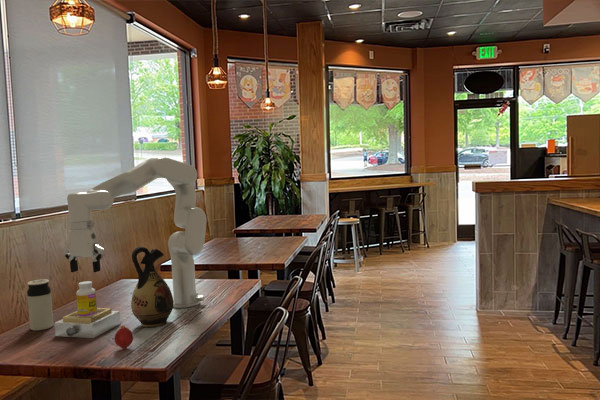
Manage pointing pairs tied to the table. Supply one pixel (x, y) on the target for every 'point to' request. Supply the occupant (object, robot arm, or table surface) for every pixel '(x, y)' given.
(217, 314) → the table surface
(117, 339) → the onion
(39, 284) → the travel mug
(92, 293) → the supplement bottle
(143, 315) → the ceramic jug
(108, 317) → the white gold-rimmed box
